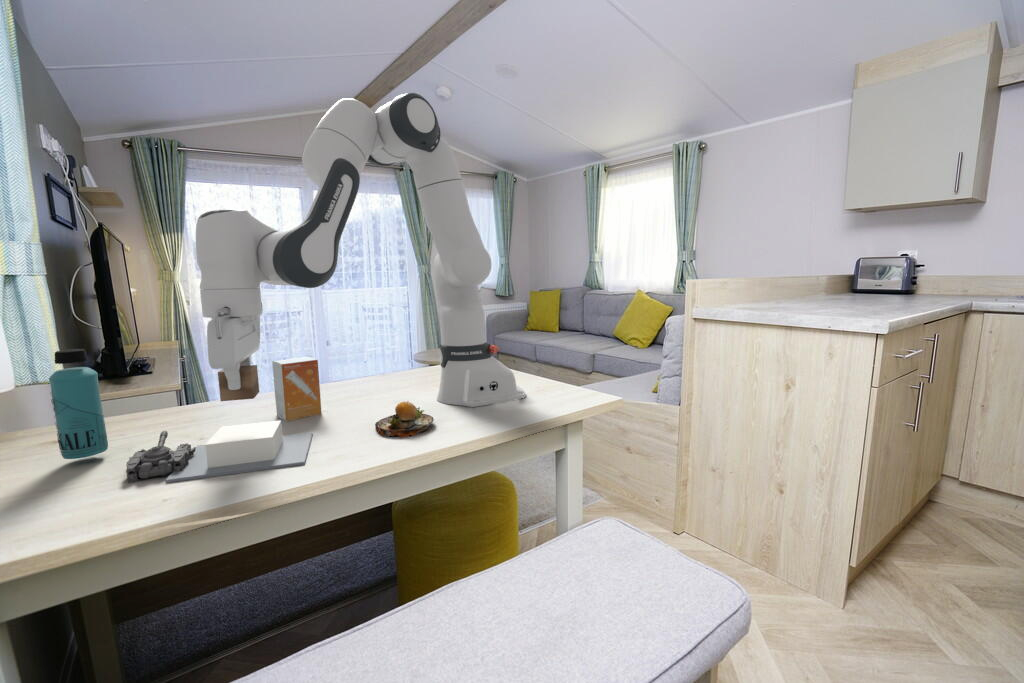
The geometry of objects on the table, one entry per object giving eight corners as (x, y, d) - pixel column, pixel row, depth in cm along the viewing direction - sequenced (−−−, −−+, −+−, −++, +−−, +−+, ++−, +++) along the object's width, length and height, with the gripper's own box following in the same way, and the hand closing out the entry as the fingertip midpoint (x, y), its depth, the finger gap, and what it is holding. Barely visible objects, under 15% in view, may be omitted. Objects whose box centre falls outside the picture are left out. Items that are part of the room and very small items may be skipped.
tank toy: (135, 463, 83) (131, 435, 82) (199, 452, 88) (196, 425, 87) (118, 489, 73) (113, 457, 72) (191, 476, 77) (187, 446, 76)
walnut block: (259, 391, 86) (257, 364, 85) (253, 398, 81) (251, 370, 80) (228, 394, 84) (225, 366, 83) (220, 401, 79) (217, 372, 79)
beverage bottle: (102, 451, 88) (86, 345, 85) (117, 457, 84) (101, 347, 82) (55, 463, 82) (36, 350, 79) (70, 471, 79) (51, 353, 76)
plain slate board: (312, 434, 95) (312, 432, 95) (304, 464, 80) (304, 461, 80) (197, 448, 89) (197, 445, 88) (165, 482, 73) (165, 479, 73)
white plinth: (283, 440, 90) (281, 420, 90) (274, 459, 81) (272, 437, 80) (223, 447, 87) (221, 426, 87) (207, 467, 78) (205, 444, 77)
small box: (286, 422, 103) (280, 364, 102) (276, 416, 108) (271, 360, 106) (322, 414, 109) (318, 358, 107) (312, 409, 114) (307, 355, 112)
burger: (433, 418, 105) (431, 385, 104) (436, 435, 94) (434, 399, 93) (377, 423, 103) (375, 389, 101) (373, 441, 91) (371, 404, 90)
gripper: (239, 308, 72) (247, 397, 73) (263, 302, 91) (269, 372, 93) (190, 310, 70) (200, 401, 72) (226, 303, 89) (233, 374, 91)
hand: (240, 384), depth 82 cm, fingers closed on walnut block, 5 cm apart
